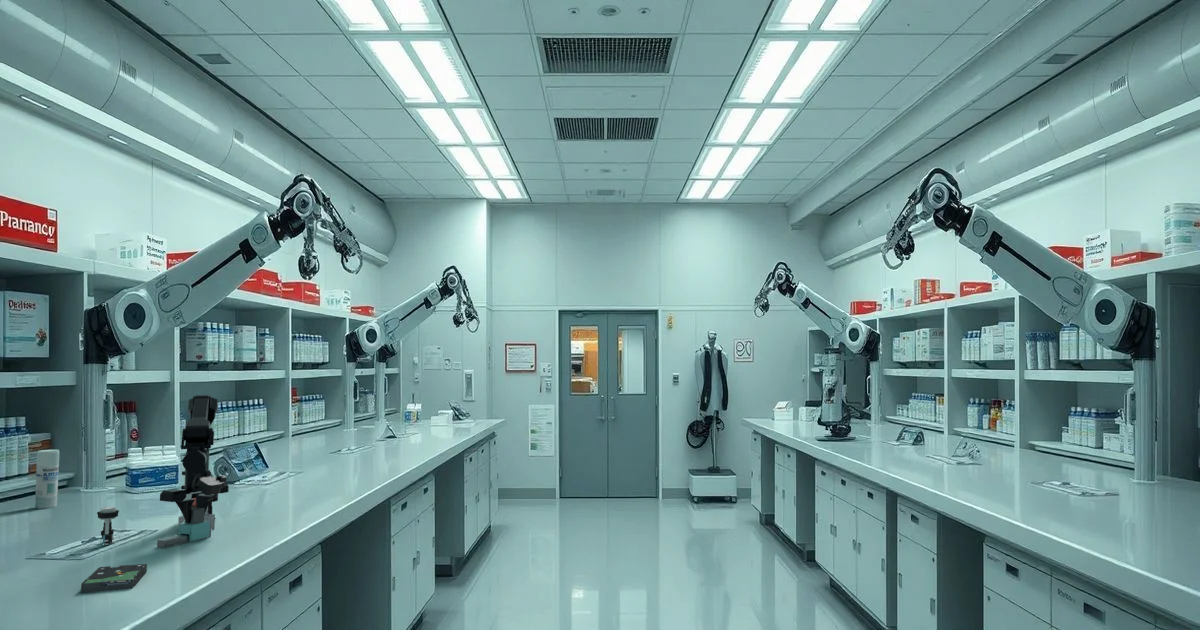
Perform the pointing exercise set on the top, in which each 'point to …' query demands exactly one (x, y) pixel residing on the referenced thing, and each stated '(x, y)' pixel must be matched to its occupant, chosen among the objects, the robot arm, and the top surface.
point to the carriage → (195, 525)
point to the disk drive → (114, 578)
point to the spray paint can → (47, 479)
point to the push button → (107, 523)
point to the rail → (175, 540)
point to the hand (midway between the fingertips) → (194, 521)
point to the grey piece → (206, 518)
